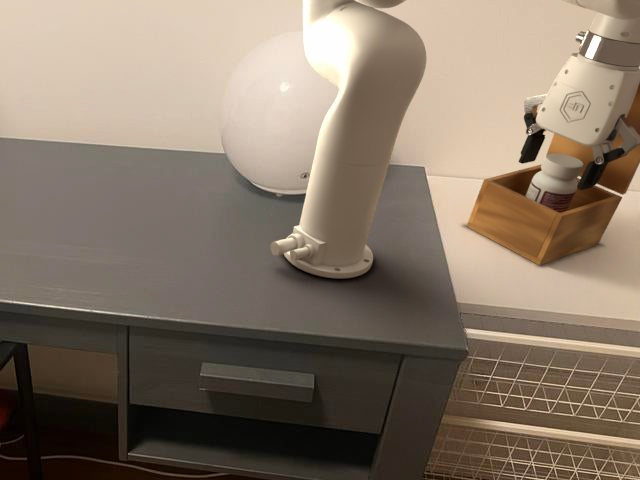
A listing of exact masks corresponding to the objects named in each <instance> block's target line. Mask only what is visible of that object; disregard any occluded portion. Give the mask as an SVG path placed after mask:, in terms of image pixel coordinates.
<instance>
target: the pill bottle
mask: <svg viewBox="0 0 640 480" xmlns="http://www.w3.org/2000/svg"><path fill="white" fill-rule="evenodd" d="M541 164H542V165H541ZM541 164H540V165H541V170H542V171H539V172H538V173H536V174H535V175H534V177H533V179H532V181H531V184H530V186H529V188H528V191H527V193H526V196H525V197H527V198H530V199H532V200H534V201H536V202H538V203H540V204H542V205H544V206H547V207H549V208H551V209H553V210H555V211H557V212H559V213H562V212H565V211H567V209H568V207H569V205H570V203H571V201H572V198H573V196H574V194H575V192H576V190H577V185H578V182H577V180H576V179H575V178H579V177H580V176H579V174H580V172H581V170H582V167H583V162H582V161H581V160H579V159H577V158H575V157H572V156H569V155H564V154H556V153H553V154H548V155H547V154H545V156H544V159H543V161H542V163H541Z"/></svg>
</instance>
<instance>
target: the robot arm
mask: <svg viewBox="0 0 640 480" xmlns="http://www.w3.org/2000/svg"><path fill="white" fill-rule="evenodd" d="M406 1H407V0H302V28H303V29H302V36H303V37H302V38H303V47H304V48H303V49H304V53H305V56H306V59H307V61H308V63H309V65H310V66H311V68H312V69H313V70H314V71H315V72H316V73H317V74H318V75H320V76H321V77H322V78H323V79H325V80H327V81H328V82H329V83H331V84H332V85H334V86H335V87H336V88H338V92H337V95H336V98H335V100H334V101H333V103H332V105H331V106H330V107H329V109H328V111H327V113H326V114H325V116H324V118H323V120H322V123H321V125H320V129H319V133H318V137H317V141H316V147H315V151H314V157H313V161H312V165H311V170H310V175H309V179H308V184H307V189H306V192H305V197H304V202H303V207H302V211H301V216H300V219H299V220H300V221H299V225H295V226H293V231H292V233H291V234H289V235H288V236H286V238H285V239H279V240H276V241H272V242H271V243H270V247H269V248H270V252H271V254H272V255H273V256H279V255H284V257H285V258H286V259H287V261H288V262H289V263H290V264H291V265H293V267H296V268H297V269H298V270H301V271H304V272H306V273H308V274H311V275H314V276H318V277H322V278H327V279H328V278H329V279H339V280H340V279H351V278H352V279H353V278H356V277H359V276H363V275H364V274H366V273H368V271H369V270H371V267H372V266H373V261H374V254H373V251H372V250H371V248H370V247H369V246H368V245H367V241H368V239H369V235H370V231H371V228H372V225H373V221H374V217H375V215H376V210H377V207H378V203H379V200H380V197H381V192H382V190H383V187H384V183H385V180H386V176H387V172H388V170H389V167H390V166H389V165H390V162H391V158H392V155H393V151H394V149H395V148H394V147H395V144H396V141H397V138H398V136H399V135H398V134H399V132H400V129H401V126H402V123H403V121H404V118H405V117H406V116H405V115H406V114H407V111H408V109H409V106H410V105H411V102H412V101H413V99H414V97H415V94H416V93H417V91H418V89H419V87H420V85H421V82H422V80H423V78H424V75H425V73H426V67H427V49H426V47H425V43H424V41H423V39H422V37H421V36H420V35H419V33H418V32H417V31H416V29H414V28H413V27H412V26H411V25H410V24H408V23H407V22H406V21H403V20H401V19H399V18H398V17H396V16H393V15H391V14H389V13H387V12H385V11H382V10H381V9H391V8H395V7H397V6H399V5H401V4H403V3H404V2H406ZM562 1H563V2H565V3H568V4H571V5H574V6H576V7H580V8H582V9H588V10H590V11H593V12H596V13H595V14H594V17H593V20H592V22H591V24H590V27H589V29H587V30H586V31H581V30H580V31H579V32H578V33H577V35H576V37H575V42H577V43H579V44H580V46H579V48H578V50H579V51H578V52H573V53H571V54H570V55H569V57H568V59H567V60H566V61H565V63H564V64H563V65H562V67H561V68H560V71H559V72H558V73H557V75H556V77H555V78H554V79H553V82H552V84H551V86H550V87H549V90H548V91H547V93H544V94H540V95H535V96H530V97H526V98H525V99H524V102H523V103H524V104H523V105H524V115H523V121H524V123H525V124H524V125H525V127H526V129H525V134H526V135H527V136H526V139H525V141H524V144H523V146H522V149H521V151H520V157H519V159H518V163H519V164H522V165H523V164H527V163H533V162H535V161H536V160H537V157H538V155H539V153H540V151H541V149H542V146H543V143H544V142H545V139H546V134H544V133H545V132H550V133H552V134H553V135H554V134H557V135H559V136H562V137H564V138H567V139H569V140H572V141H574V142H577V143H579V144H582V145H585V146H591V147H592V151H593V156H594V161H592V162H589V163H588V165H587V167H586V169H585V171H584V173H583V175H582V177H580V178H579V179H580V181H579V183H578V185H577V189H579V190H584V189H588V188H592V187H593V186H594V185H595V186H597V185H598V184H597V183H598V181H599V180H600V178H601V176H602V174H603V172H604V170H605V168H606V166H607V164H608V163H609V162H612V161H613V160H616V159H618V158H621V157H623V156H626V155H627V154H628V153H629V152H630V151H632V150H633V149H634V148H635V147H637V146H638V145H639V144H640V136H639V134H638V133H637V132H636V131H635V129H634V128H633V127H632V126H631V124H630V123H629V122H628V120H627V119H626V118H627V116H628V113H629V111H630V108H631V106H632V103H633V101H634V98H635V95H636V92H637V89H638V86H639V82H640V0H562ZM379 9H380V10H379ZM539 106H540V107H539ZM538 107H539V110H538ZM618 134H620V135H621V137H622V138H623V140H624V142H623V143H622V144H621V145H620V146H619V147H618V148H617V149H614V150H613V146H612V142H613V141H614V140H615V139H616V137H617V136H618Z"/></svg>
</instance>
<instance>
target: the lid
mask: <svg viewBox="0 0 640 480" xmlns="http://www.w3.org/2000/svg"><path fill="white" fill-rule="evenodd" d="M626 119H627V120H628V122H629V123H630V124H631V126H632V127H633V128H634V129H635V131H636V132H637V133H638V134H639V136H640V82H639V86H638V89H637V92H636V95H635V98H634V101H633V103H632V106H631V108H630V111H629V113H628V116H627V118H626ZM623 142H624V140H623V138H622V137H621V135H620V134H618V136H617V137H616V139H615V140H614V141H613V142H612V146H613V150H614V149H617V148H618V147H619V146H620V145H621V144H622V143H623ZM553 153H556V154H564V155H569V156H572V157H575V158H577V159H579V160H581V161H582V162H583V167H582V170H581V172H580V174H579V176H578V177H580V178H581V177H582V175H583V173H584V171H585V169H586V167H587V165H588V163H589V162H592V161H594V156H593V151H592V147H591V146H585V145H582V144H579V143H577V142H574V141H572V140H569V139H567V138H564V137H562V136H559V135H557V134H554V133H553V135H552V138H551V141H550V144H549V147H548V149H547V152H546V155H548V154H553ZM639 166H640V144H639V145H638V146H637V147H635V148H634V149H633V150H632V151H630V152H629V153H628V154H627V155H626V156H623V157H621V158H618V159H616V160H613V161H612V162H609V163H608V164H607V166H606V168H605V170H604V172H603V174H602V176H601V178H600V180H599V181H598V183H597V184H596V185H599V186H600V187H603V188H605V189H607V190H610V191H613V192H615V193H617V194H620V195H625V194H627V192H628V190H629V188H630V185H631V183H632V181H633V179H634V176H635V175H636V172H637V170H638V168H639Z"/></svg>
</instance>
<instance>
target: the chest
mask: <svg viewBox="0 0 640 480" xmlns="http://www.w3.org/2000/svg"><path fill="white" fill-rule="evenodd" d="M541 165H542V163H541V164H537V165H534V166H529V167H526V168H522V169H518V170H515V171H511V172H508V173H507V172H506V173H503V174H499V175H495V176H491V177H488V178H484V179H483V181H482V184H481V187H480V189H479V192H478V195H477V197H476V199H475V202H474V205H473V208H472V210H471V213H470V215H469V218H468V221H467V224H466V227H467V228H469V229H470V230H472V231H475V232H477V233H478V234H480V235H481V236H484V237H485V238H487V239H489V240H491V241H494V242H495V243H497V244H499V245H500V246H503V247H504V248H506V249H508V250H510V251H512V252H514V253H516V254H518V255H520V256H522V257H523V258H525V259H527V260H529V261H531V262H532V263H534V264H536V265H539V266H541V265H544V264H548V263H549V262H553V261H555V260H559V259H560V258H564V257H567V256H570V255H571V254H575V253H578V252H580V251H583V250H586V249H589V248H592V247H595V246H597V245H599V243H600V242H601V240H602V238H603V237H604V235H605V233H606V231H607V228H608V227H609V225H610V223H611V221H612V218H613V217H614V214H615V213H616V211H617V209H618V207H619V205H620V203H621V201H622V199H623V197H622V196H621V195H619V194H616V193H614V192H611V191H609V190H608V189H607V190H606V189H604V188H602V187H601V186H597V185H594V186H593V187H592V188H588V189H584V190H579V189H577V190H576V192H575V194H574V196H573V198H572V201H571V203H570V205H569V207H568V209H567V211H565V212H562V213H559V212H557V211H555V210H553V209H551V208H549V207H547V206H544V205H542V204H540V203H538V202H536V201H534V200H532V199H530V198H527V197H525V196H526V193H527V191H528V188H529V186H530V184H531V181H532V179H533V177H534V175H535V174H536V173H538V172H539V171H542V170H541ZM575 179H576V180H577V182H578V183H579V181H580V179H581V178H579V177H577V178H575Z"/></svg>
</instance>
